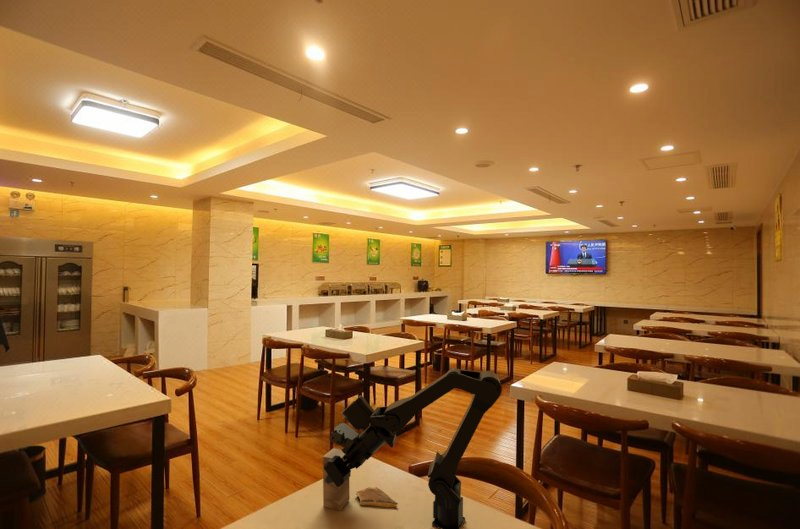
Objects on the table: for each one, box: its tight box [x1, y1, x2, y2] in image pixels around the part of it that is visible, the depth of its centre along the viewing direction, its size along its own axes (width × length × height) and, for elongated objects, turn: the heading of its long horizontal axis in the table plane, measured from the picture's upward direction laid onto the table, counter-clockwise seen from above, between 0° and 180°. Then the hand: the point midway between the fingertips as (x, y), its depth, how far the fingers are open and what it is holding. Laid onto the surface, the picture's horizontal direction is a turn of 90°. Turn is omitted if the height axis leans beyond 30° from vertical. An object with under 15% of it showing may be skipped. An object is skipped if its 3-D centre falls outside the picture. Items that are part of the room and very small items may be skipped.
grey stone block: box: [322, 447, 351, 511], centre depth 104 cm, size 5×5×13 cm
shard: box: [355, 486, 399, 508], centre depth 105 cm, size 11×8×2 cm
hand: (331, 476), depth 105 cm, fingers closed on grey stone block, 5 cm apart
